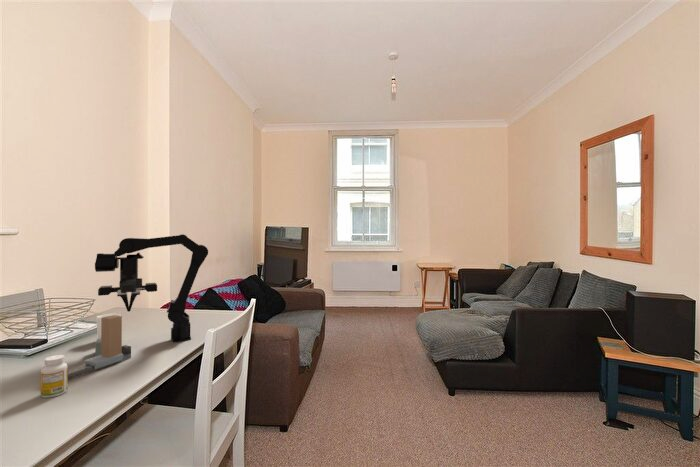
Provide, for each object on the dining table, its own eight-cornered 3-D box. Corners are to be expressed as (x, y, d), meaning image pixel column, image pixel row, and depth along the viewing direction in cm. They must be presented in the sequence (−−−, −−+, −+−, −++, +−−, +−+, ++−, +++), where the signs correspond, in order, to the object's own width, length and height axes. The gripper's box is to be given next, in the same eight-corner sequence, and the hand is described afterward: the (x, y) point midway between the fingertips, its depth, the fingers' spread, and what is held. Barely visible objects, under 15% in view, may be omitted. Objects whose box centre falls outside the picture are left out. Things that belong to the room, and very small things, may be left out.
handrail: (125, 356, 118) (125, 345, 118) (131, 357, 117) (131, 346, 117) (47, 382, 97) (47, 369, 97) (53, 384, 96) (53, 370, 96)
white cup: (108, 344, 131) (108, 318, 131) (91, 342, 132) (91, 317, 132) (125, 338, 139) (125, 313, 139) (109, 336, 140) (109, 312, 140)
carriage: (112, 357, 115) (112, 314, 115) (123, 359, 113) (123, 316, 113) (84, 366, 107) (84, 320, 107) (95, 369, 105) (95, 322, 105)
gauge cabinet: (120, 348, 126) (120, 334, 126) (119, 353, 121) (119, 339, 121) (97, 351, 123) (97, 337, 123) (95, 357, 117) (95, 343, 117)
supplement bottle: (51, 389, 93) (51, 354, 93) (72, 388, 94) (72, 353, 94) (35, 398, 88) (35, 361, 88) (57, 398, 88) (57, 361, 88)
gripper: (96, 274, 118) (96, 319, 118) (157, 271, 128) (157, 312, 128) (99, 271, 128) (99, 312, 128) (156, 268, 137) (156, 307, 137)
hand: (128, 311), depth 130 cm, fingers closed
